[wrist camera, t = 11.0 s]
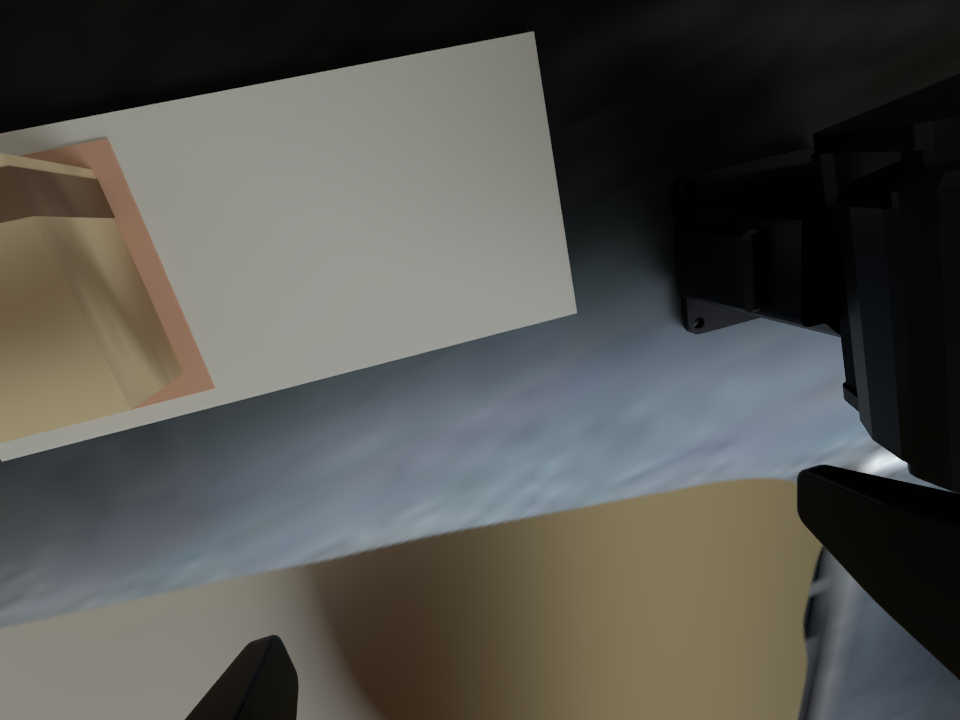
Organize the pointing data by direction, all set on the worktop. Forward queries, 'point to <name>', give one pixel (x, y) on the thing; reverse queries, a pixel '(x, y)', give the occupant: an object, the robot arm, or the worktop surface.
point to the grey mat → (327, 220)
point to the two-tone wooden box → (70, 305)
